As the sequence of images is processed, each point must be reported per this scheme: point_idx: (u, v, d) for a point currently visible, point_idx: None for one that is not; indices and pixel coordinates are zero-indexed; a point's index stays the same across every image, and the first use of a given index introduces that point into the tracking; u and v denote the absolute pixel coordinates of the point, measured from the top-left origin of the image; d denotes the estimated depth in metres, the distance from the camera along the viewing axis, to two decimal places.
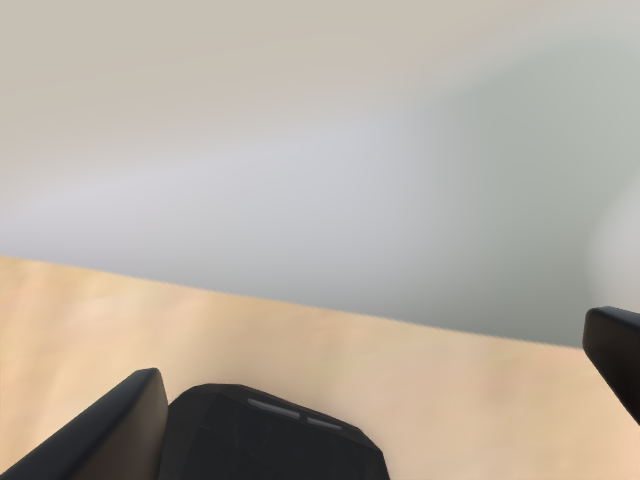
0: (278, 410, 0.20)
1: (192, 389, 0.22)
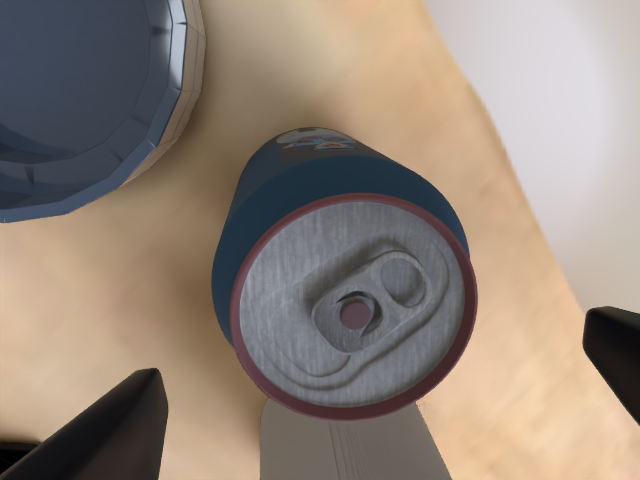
0: None
1: None
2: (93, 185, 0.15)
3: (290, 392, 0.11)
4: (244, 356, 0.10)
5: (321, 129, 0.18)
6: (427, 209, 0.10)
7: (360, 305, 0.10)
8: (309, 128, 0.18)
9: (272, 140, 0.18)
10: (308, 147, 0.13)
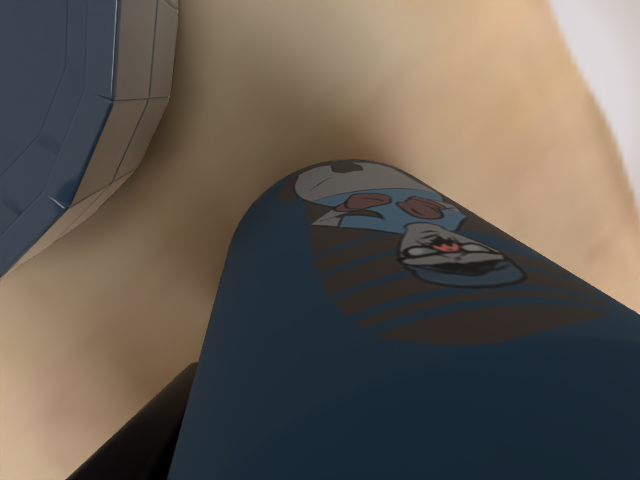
0: None
1: None
2: None
3: None
4: None
5: (370, 166, 0.11)
6: None
7: None
8: (348, 162, 0.11)
9: (286, 181, 0.11)
10: (383, 244, 0.05)
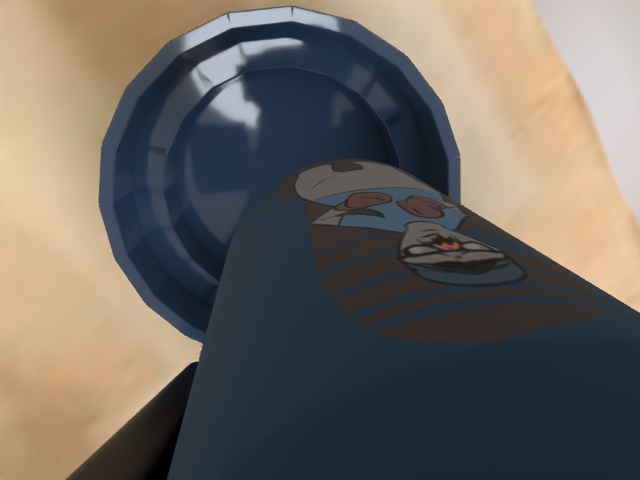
0: None
1: None
2: None
3: None
4: None
5: (370, 165, 0.11)
6: None
7: None
8: (348, 162, 0.11)
9: (287, 181, 0.11)
10: (384, 243, 0.05)
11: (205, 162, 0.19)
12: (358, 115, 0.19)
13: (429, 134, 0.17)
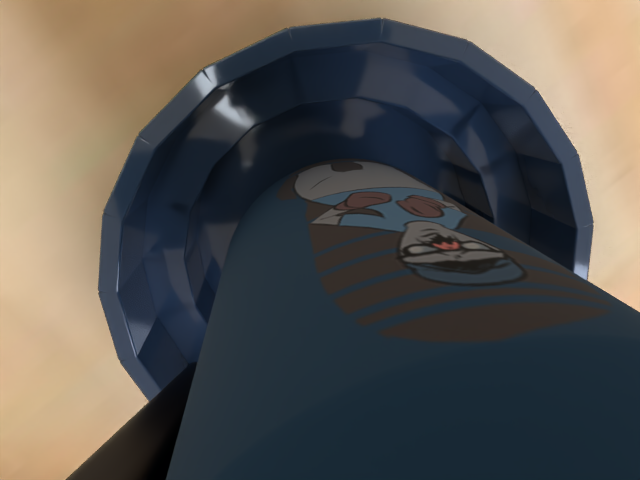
0: None
1: None
2: None
3: None
4: None
5: (370, 165, 0.11)
6: None
7: None
8: (348, 161, 0.11)
9: (286, 181, 0.11)
10: (383, 243, 0.05)
11: (235, 214, 0.15)
12: (432, 155, 0.15)
13: (544, 190, 0.12)
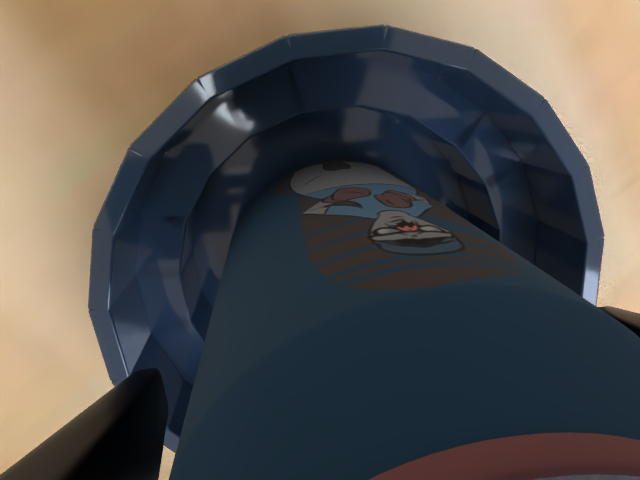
0: None
1: None
2: None
3: None
4: None
5: (357, 165, 0.12)
6: None
7: None
8: (338, 162, 0.12)
9: (283, 179, 0.12)
10: (359, 226, 0.07)
11: (233, 225, 0.15)
12: (435, 163, 0.15)
13: (552, 201, 0.12)
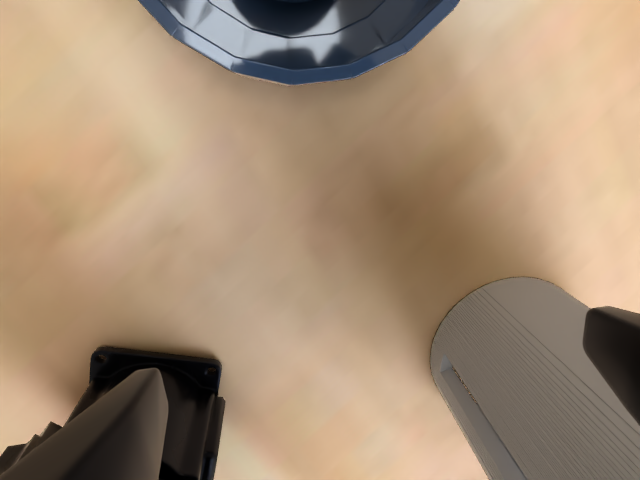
0: None
1: None
2: (384, 48, 0.15)
3: None
4: None
5: None
6: None
7: None
8: None
9: None
10: None
11: None
12: None
13: None
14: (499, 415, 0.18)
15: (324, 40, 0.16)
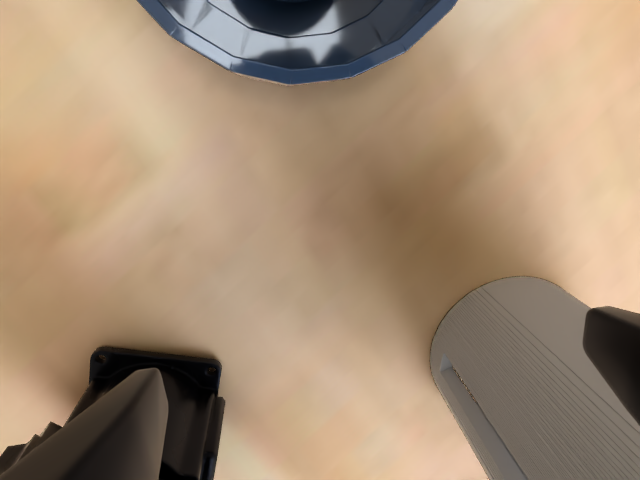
0: None
1: None
2: (383, 47, 0.15)
3: None
4: None
5: None
6: None
7: None
8: None
9: None
10: None
11: None
12: None
13: None
14: (499, 414, 0.18)
15: (323, 40, 0.16)
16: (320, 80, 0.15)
